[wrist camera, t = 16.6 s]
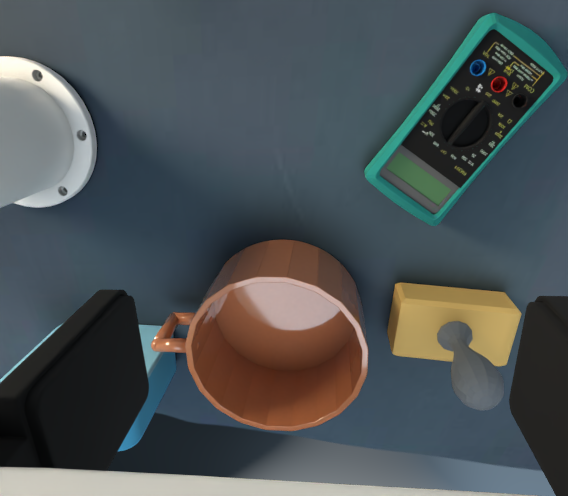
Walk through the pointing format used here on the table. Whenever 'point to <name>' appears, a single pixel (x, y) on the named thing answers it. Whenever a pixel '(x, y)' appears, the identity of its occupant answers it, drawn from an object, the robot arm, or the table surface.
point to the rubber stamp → (457, 335)
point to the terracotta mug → (276, 337)
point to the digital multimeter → (466, 117)
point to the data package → (159, 377)
